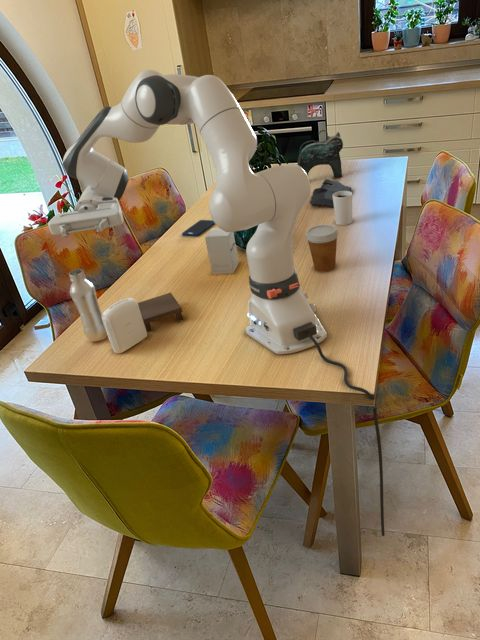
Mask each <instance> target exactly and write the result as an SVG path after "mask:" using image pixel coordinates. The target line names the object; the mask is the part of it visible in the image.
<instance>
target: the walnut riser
mask: <svg viewBox="0 0 480 640" xmlns="http://www.w3.org/2000/svg"><path fill="white" fill-rule="evenodd" d="M137 304H138V306H139V309H140V312H141V316H142V319H143V322H144V325H145V328H146V332H147V333H149V332H152V331H153V328H152V324H151V323H153V322H156V321H159V320H163V319H166V318H169V317H172V316H175V317H176V320H177V322H182V321H184V317H183V308H182V306H181V305H180V304H179V302H178V301H177V299H176V298H175V296H174V295H173V293H172V292H168V293H165V294H161V295H158V296H155V297H152V298H149V299H146V300H143V301H139V302H137Z"/></svg>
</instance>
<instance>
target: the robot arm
mask: <svg viewBox="0 0 480 640" xmlns="http://www.w3.org/2000/svg"><path fill="white" fill-rule="evenodd" d="M191 124H194V125H195V127H196V130H197V131H198V133H199V135H200V137H201V139H202V140H203V142H204V145H205V146H206V148H207V150H208V153H209V155H210V157H211V159H212V162H213V164H214V168H215V173H216V174H215V175H216V179H215V180H216V181H215V185H214V189H213V191H212V193H211V195H210V198H209V203H208V208H209V209H208V210H209V214H210V217H211V220H213V221H214V223H215V224H214V225H216V226H217V228H220V229H222V230H223V231H225V232H233V233H234V232H241V231H247V230H249V229H251V228H254V227H256V226H257V228H256V230H255V232H254V234H253V235H252V236H251V237H250V238H249V240H248V242H247V244H246V249H245V253H246V254H245V255H246V260H247V264H248V271H249V276H248V284H249V289H250V292H251V294H250V297H249V299H248V301H247V317H248V319H249V320H248V321H249V324H248V325H247V327H246V328H245V334H246V335H247V336H249V337H251V338H252V339H253V340H255V341H256V342H257V343H259V344H260V345H262V346H264V347H265V348H267V349H268V350H269V351H271V352H273V353H274V354H276V355H289V354H295V353H299V352H302V351H304V350H307V349H310V348H312V347H314V346H315V347H316V349H317V351H318V354H319V356H320V357H321V359H323V361H325V362H326V363H329V364H331V365H335V366H339V367H340V368H341V369H343V372H344V373H343V382H344V384H345V385H346V387H348V388H349V389H351V390H355V391H358V392H362V393H363V394H364V395H366V396H367V398H369V401H373V400H374V397H373V395H372V394H371V393H370V392H369V391H368V390H367V389H366V388H363V387H359V386H355V385H353V384H351V383H350V381H348V377H349V375H348V374H349V373H348V369H347V367H346V366H345V364H343V363H341V362H339V361H335V360H331V359H328V358H327V357H326V356H325V354H324V353H323V351H322V348H321V346H320V343H321V342H323V341H325V339H327V337H328V334H327V331H326V330H325V328H324V327H323V325H322V323H321V322H320V320H319V318H318V317H317V315H316V312H317V310H318V309H317V305H316V303H315V302H311V303H310V302H309V301H308V299H309V295H308V292H307V293H306V292H305V293H304V291H303V289H302V286H301V284H300V280H299V274H298V273H297V269H296V268H295V264H294V263H295V262H294V254H293V253H294V252H293V251H294V250H293V238H294V231H295V229H296V224H297V220H298V217H299V215H300V212H301V211H302V209H303V208H304V206H305V204H306V203H307V202H308V200H309V198H310V196H311V192H312V191H311V190H312V189H311V187H312V186H311V180H310V178H309V174H308V175H307V174H306V172H305V171H304V170H303V169H302V168H301V167H300V166H298V165H297V163H296V164H295V163H293V164H292V163H290V164H288V163H287V164H279V165H274V166H272V167H269V168H266V169H263V170H260V171H258V172H253V171H252V168H251V166H250V164H249V162H250V160H251V159H252V158H253V156H255V153H256V151H257V147H258V138H257V135H256V133H255V131H254V129H253V128H252V126H251V124H250V121H248V119H247V117H246V115H245V113H244V111H243V109H242V107H241V106H240V104H239V102H238V101H237V99H236V98H235V95H234V94H233V93H232V92H231V90H230V89H229V88H228V86H227V85H226V84H225V83H224V82H223V80H222V79H221V78H219V77H218V76H217V75H213V74H204V75H202V76H201V75H188V74H179V73H174V74H171V73H170V74H162V73H161V72H159V71H158V70H153V69H146V70H142V71H141V72H139V73H138V74H137V76H136V77H135V78H134V79H133V81H132V82H131V83H130V84H129V86H128V88H127V89H126V91H125V93H124V95H123V97H122V99H121V101H120V102H119V103H118V104H116V105H114V106H105V107H103V108H102V109H100V110H99V112H98V113H97V114H96V116H94V118H93V119H92V120H91V121H90V123H89V124H88V125H87V126H86V128H85V129H84V131H83V132H82V134H81V135H80V136H79V138H78V139H77V140H76V141H75V142H74V143H73V144H72V145H70V146H69V148H68V149H67V150H66V152H65V153H64V155H63V158H62V167H63V169H64V172H65V174H66V175H67V176H68V177H71V178H73V179H75V180H76V181H80V182H81V183H83V184H85V185H87V186H86V188H85V189H84V190H83V192H82V193H81V195H80V197H79V199H78V200H77V202H76V204H75V206H74V209H73V211H67V212H60V213H57V214H55V215H54V216H52V218H51V219H50V220H49V221H48V222H47V226H48V230H49V232H50V233H51V235H53V236H60V235H61V238H67V237H69V236H70V233H72V234H73V233H79V232H86V231H92V230H95V231H96V233H102V232H103V231H104V230H106V229H107V228H113V227H120V226H122V225H123V224H124V222H125V221H124V220H125V219H124V216H123V211H122V208H121V205H120V201H121V199H122V197H123V195H124V193H125V191H126V189H127V186H128V184H129V180H130V179H129V174H128V171H127V169H126V167H124V166H123V165H121V164H119V163H118V162H116V161H114V160H112V159H111V158H109V157H107V156H105V155H104V154H102V153H100V152H98V151H97V150H95V149H94V148H93V147H94V146H95V144H96V143H97V142H98V141H99V139H100V138H113V139H117V140H121V141H124V142H126V143H127V142H128V143H133V144H139V143H145V142H148V141H149V140H150V139H152V137H153V136H154V135H155V134H156V133H157V131H158V130H159V128H160V127H161V126H163V125H180V126H184V125H185V126H186V125H191ZM372 413H373V422H374V426H375V427H374V428H375V435H376V443H377V453H378V454H377V455H378V467H379V470H378V471H379V496H380V499H379V500H380V501H379V503H380V507H379V508H380V528H381V529H380V531H381V537H385V512H384V509H385V508H384V470H383V468H384V467H383V454H382V452H383V451H382V442H381V434H380V426H379V419H378V412H377V407H375V408H372Z"/></svg>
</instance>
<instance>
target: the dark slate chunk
mask: <svg viewBox="0 0 480 640" xmlns="http://www.w3.org/2000/svg"><path fill="white" fill-rule="evenodd" d="M339 191H350V192H352V187H351V186H348V185H344V184H343V183H342V182H340V181H338V180H332V179H329V178H325V179H324V180H323V182H322V184H321V186H320V187H318V188H314V190H313V192H312V195H311V197H310V201H309V203H310V205H311V206H312V207H329V208H331V207H333V208H334V204H333V194H334V193H336V192H339Z"/></svg>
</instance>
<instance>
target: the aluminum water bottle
mask: <svg viewBox="0 0 480 640" xmlns="http://www.w3.org/2000/svg"><path fill="white" fill-rule="evenodd" d="M68 276H69V281H70V282H71V285H70V287H69V296H70V298H71V299H72V301H73V303H74V305H75V307H76V309H77V311H78V314H79V316H80V319H81V323H82V328H83V333H84V335H85V337H86V339H87V340H88V341H91V342H99V341H103V340H105V339H107V337H108V335H107V332H106V329H105V327H104V324H103V321H102V318H101V315H102V314H103V312H102V311H101V308H100V304H99V301H98V297H97V295H98V294H97V291H96V287H95V285H94V283H93V282H91V281H90V280H89V279H87V278H86V274H85V271H84V269H83V268H76V269H72V270H71V271H69V273H68Z"/></svg>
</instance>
